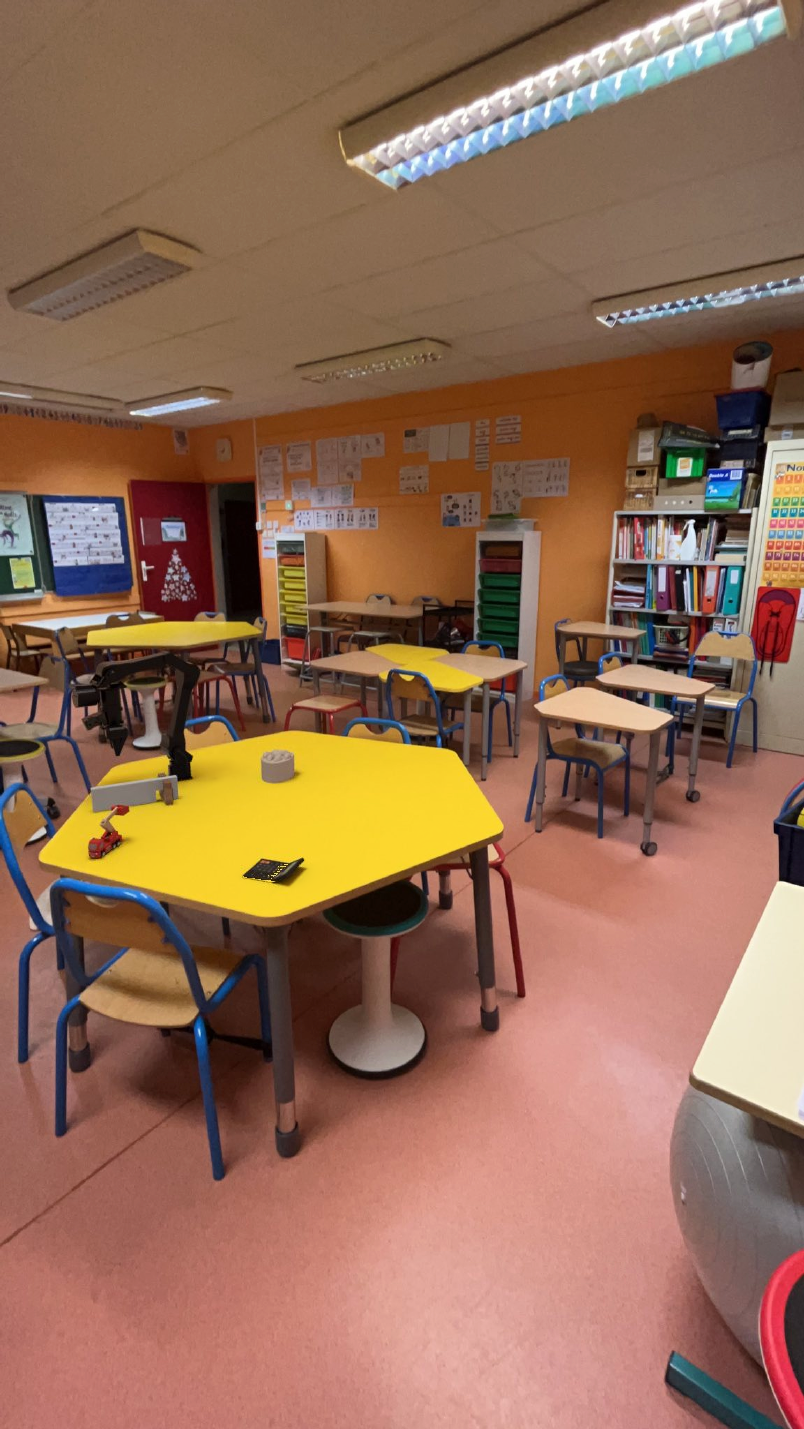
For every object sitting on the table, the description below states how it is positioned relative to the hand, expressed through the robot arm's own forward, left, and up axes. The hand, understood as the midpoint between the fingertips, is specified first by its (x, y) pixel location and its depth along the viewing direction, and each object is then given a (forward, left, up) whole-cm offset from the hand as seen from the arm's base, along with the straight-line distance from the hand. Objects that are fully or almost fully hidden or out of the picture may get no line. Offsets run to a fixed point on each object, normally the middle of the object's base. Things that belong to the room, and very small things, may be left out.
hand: (115, 752), depth 203 cm
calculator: (-24, +75, -14) cm, 80 cm away
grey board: (-3, +14, -13) cm, 19 cm away
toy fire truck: (+8, +42, -13) cm, 45 cm away
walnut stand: (-12, +14, -13) cm, 22 cm away
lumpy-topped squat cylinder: (-49, +10, -13) cm, 52 cm away
